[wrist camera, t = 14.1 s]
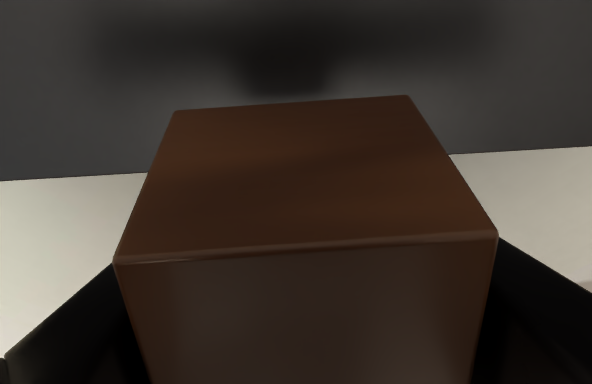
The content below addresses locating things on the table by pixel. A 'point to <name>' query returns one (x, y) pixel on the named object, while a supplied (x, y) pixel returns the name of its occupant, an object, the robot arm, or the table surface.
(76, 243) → the table surface
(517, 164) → the table surface
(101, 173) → the laptop screen
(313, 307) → the block
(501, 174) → the table surface
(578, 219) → the table surface
